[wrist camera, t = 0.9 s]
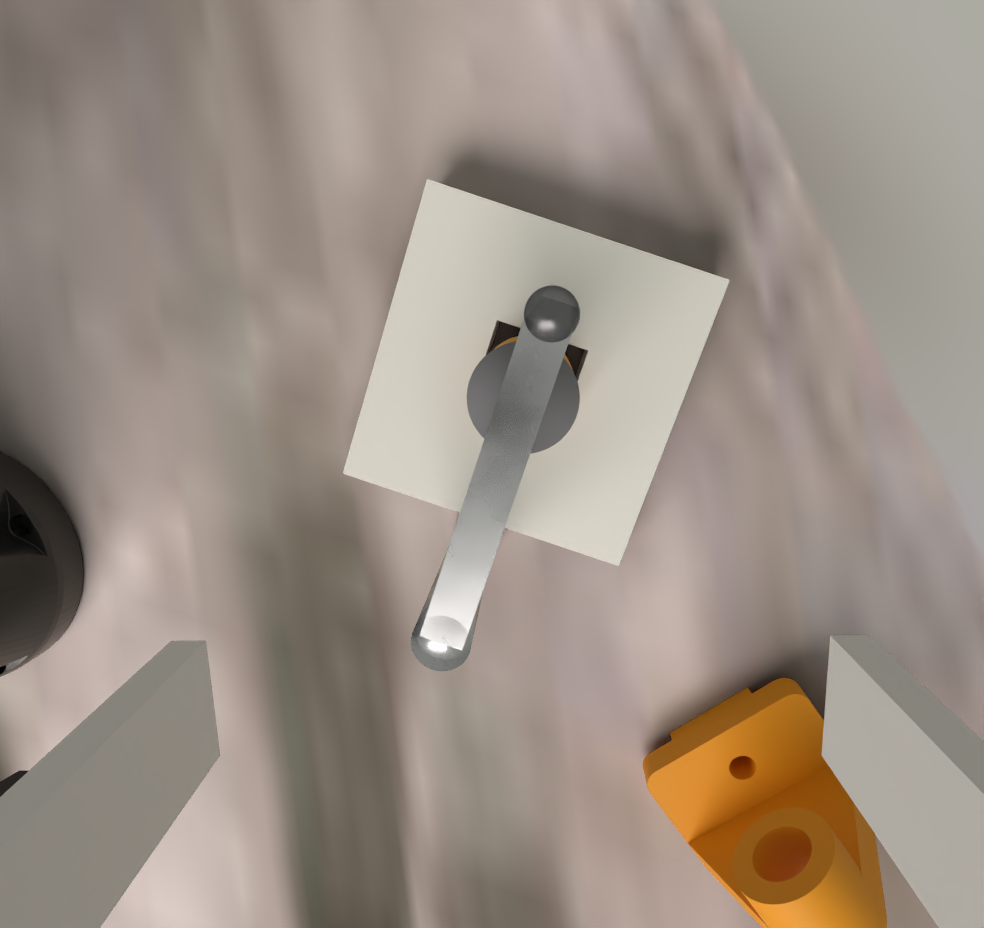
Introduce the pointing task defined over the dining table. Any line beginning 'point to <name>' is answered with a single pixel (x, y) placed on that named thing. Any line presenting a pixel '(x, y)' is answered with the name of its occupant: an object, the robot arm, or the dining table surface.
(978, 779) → the robot arm
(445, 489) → the socket block
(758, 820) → the bracket
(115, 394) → the dining table surface
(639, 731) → the dining table surface
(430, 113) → the dining table surface
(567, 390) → the plug
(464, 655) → the handle
